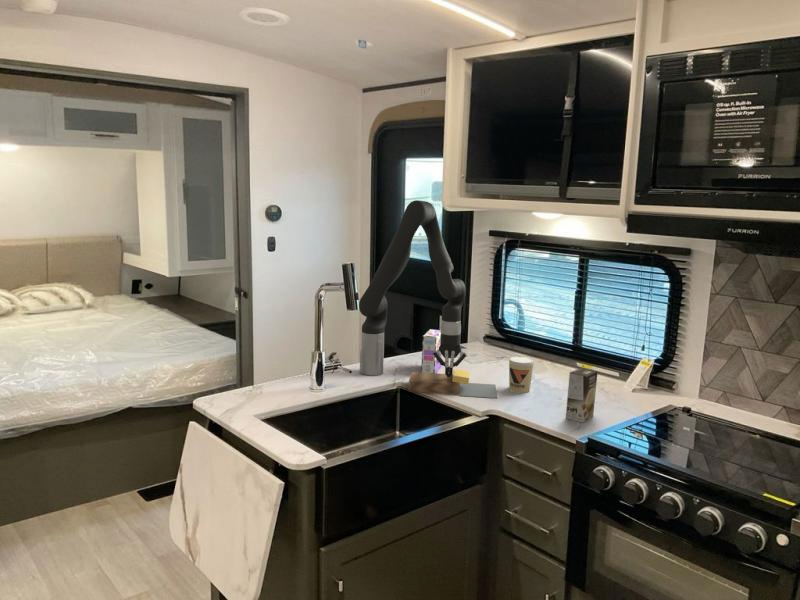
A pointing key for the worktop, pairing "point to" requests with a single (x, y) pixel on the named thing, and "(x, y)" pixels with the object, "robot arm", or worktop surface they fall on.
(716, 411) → the worktop surface
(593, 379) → the coffee box
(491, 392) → the mat
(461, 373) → the yellow rectangular block
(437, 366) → the candy box
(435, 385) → the brown flat block
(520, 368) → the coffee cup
